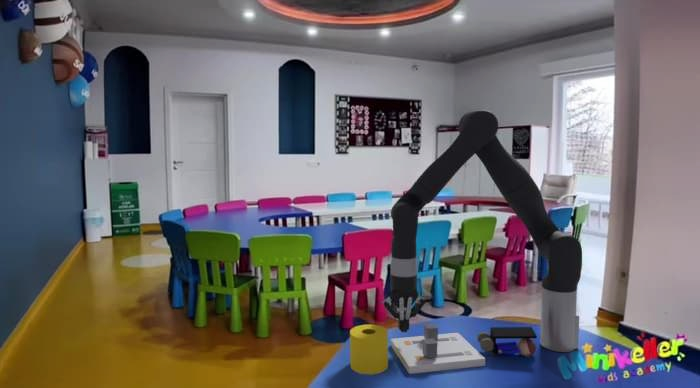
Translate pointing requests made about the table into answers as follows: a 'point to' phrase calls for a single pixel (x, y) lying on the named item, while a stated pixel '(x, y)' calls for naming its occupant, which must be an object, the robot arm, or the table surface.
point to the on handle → (429, 348)
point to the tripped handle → (431, 331)
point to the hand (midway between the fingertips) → (403, 331)
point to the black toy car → (522, 347)
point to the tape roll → (369, 349)
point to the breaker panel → (449, 354)
